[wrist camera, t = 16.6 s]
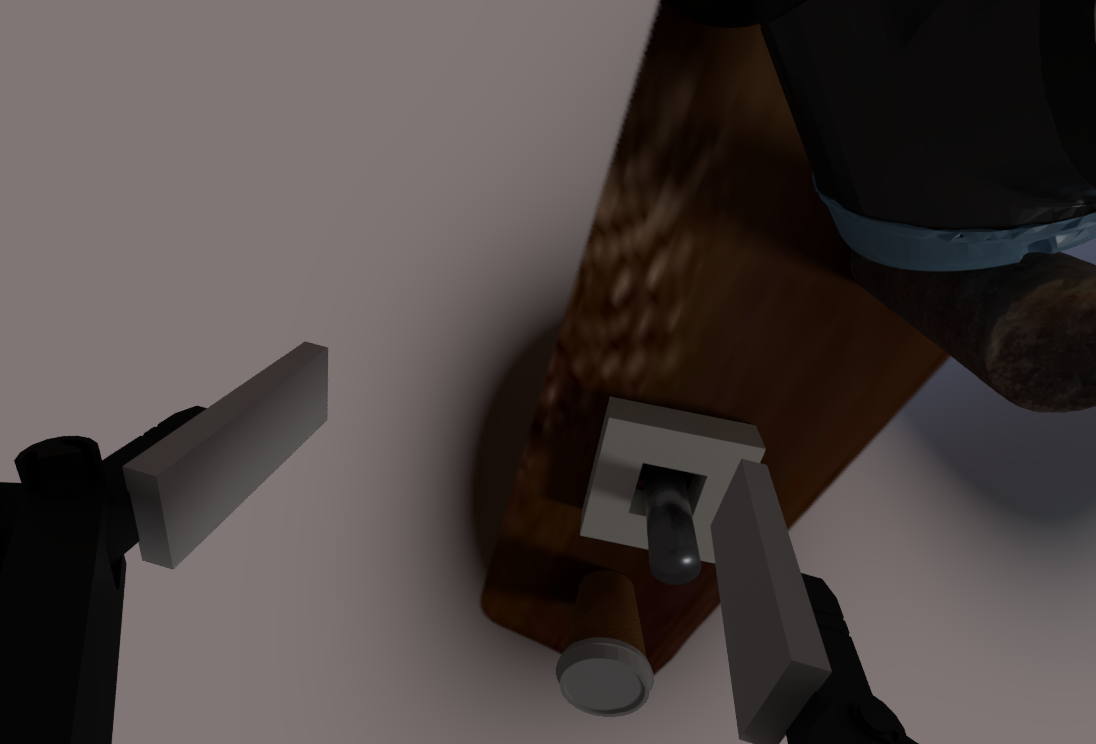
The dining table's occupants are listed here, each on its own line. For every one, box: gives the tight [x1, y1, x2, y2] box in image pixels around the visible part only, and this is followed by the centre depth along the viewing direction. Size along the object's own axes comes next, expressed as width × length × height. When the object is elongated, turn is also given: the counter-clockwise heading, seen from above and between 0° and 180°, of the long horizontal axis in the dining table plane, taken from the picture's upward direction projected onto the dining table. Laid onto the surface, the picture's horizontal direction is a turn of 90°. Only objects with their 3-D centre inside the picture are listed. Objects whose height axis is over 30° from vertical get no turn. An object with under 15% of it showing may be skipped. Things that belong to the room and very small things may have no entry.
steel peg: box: [643, 463, 701, 585], centre depth 49 cm, size 4×4×13 cm
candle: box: [850, 248, 1096, 412], centre depth 34 cm, size 8×7×20 cm
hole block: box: [580, 397, 765, 563], centre depth 53 cm, size 14×14×4 cm
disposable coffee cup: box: [556, 570, 654, 717], centre depth 57 cm, size 10×10×12 cm
